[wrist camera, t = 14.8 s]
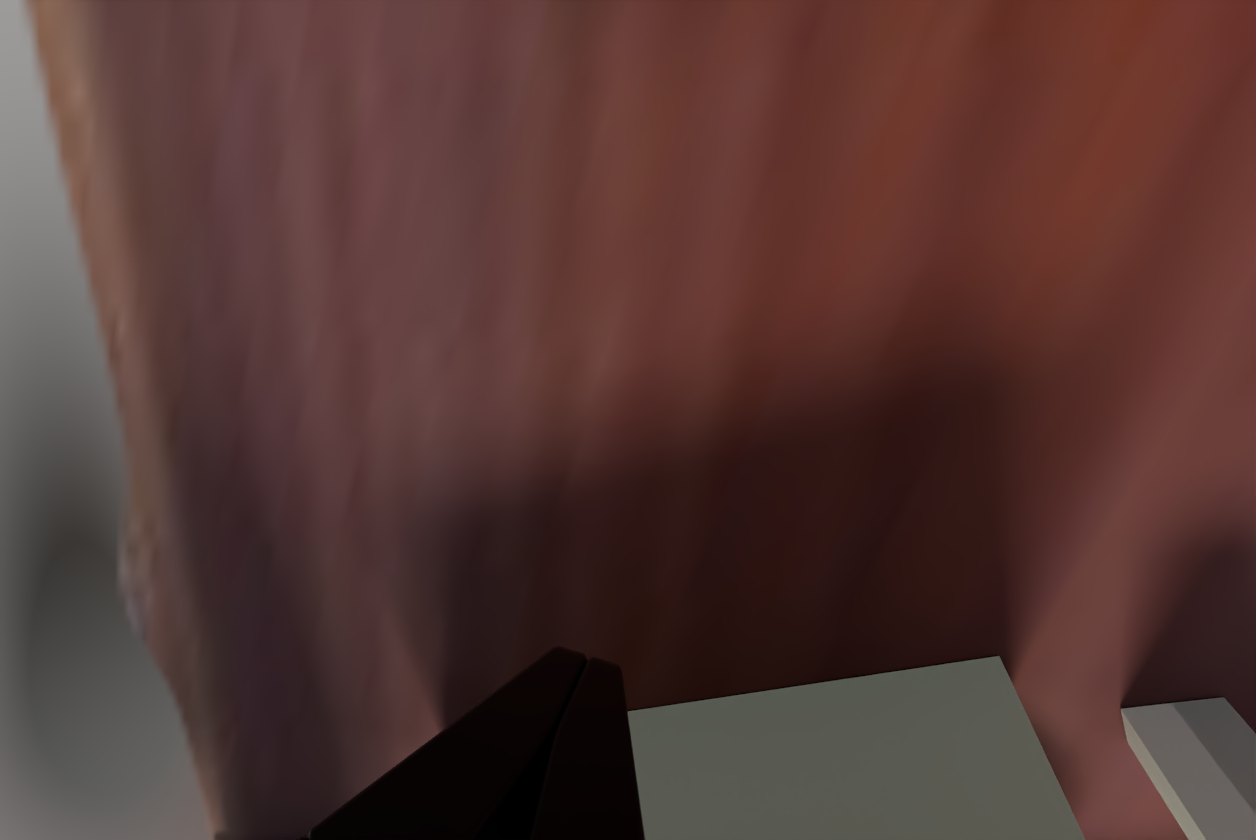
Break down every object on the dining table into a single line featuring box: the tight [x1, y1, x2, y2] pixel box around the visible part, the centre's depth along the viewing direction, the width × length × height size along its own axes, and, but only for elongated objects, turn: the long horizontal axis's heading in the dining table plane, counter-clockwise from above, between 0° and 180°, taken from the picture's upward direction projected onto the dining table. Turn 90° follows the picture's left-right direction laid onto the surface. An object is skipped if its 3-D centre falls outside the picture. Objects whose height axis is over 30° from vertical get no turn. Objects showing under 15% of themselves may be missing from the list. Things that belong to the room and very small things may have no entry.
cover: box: [628, 656, 1085, 840], centre depth 14 cm, size 15×2×7 cm, turn 113°
